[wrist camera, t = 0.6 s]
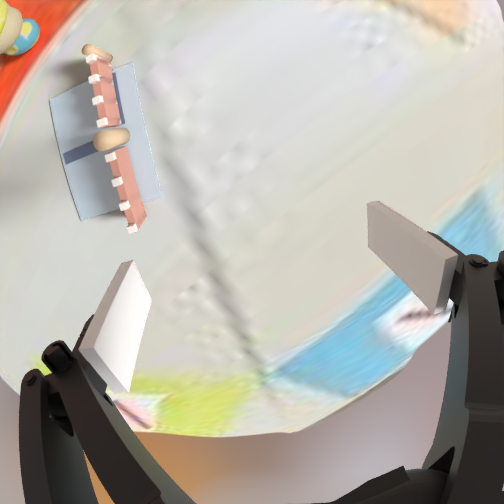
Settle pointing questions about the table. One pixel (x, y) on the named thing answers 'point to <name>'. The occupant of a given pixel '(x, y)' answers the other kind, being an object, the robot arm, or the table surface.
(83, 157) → the card
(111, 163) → the fence wing
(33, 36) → the toy
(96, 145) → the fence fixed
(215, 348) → the table surface
